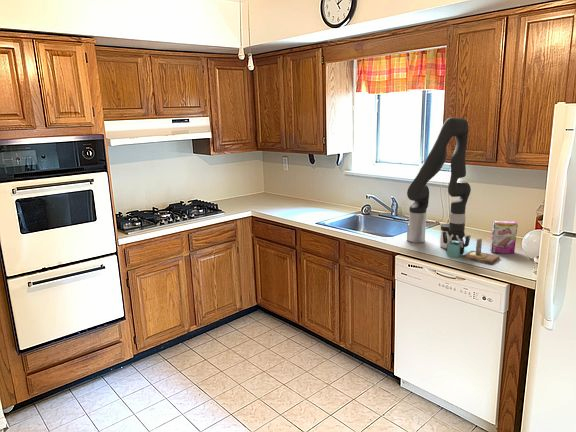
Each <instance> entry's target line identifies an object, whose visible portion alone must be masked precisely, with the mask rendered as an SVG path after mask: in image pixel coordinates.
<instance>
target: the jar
mask: <svg viewBox="0 0 576 432" xmlns="http://www.w3.org/2000/svg"><path fill="white" fill-rule="evenodd" d="M444 231H447V232H448V231H449V223H441V224H440V232H439V248H443V249H447V244H446V243H444V242H443V232H444ZM449 238H450V236H449V235H447V240H449ZM453 241H454V242H457V241H455V240H453Z"/></svg>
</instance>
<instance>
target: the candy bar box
mask: <svg viewBox="0 0 576 432" xmlns="http://www.w3.org/2000/svg"><path fill="white" fill-rule="evenodd" d="M518 224H519V223H517V222H516V221H510V220H509V221H505V220H492V225H491V226H492V228H491V236H490V243H489V244H490V245H489V247H490V248H489V251H490V253H493V254H508V255H509V254H510V255H514V254H515V250H516V242H517V241H516V240H517V234H518V233H517V231H518V226H519V225H518Z"/></svg>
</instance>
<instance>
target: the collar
mask: <svg viewBox="0 0 576 432" xmlns="http://www.w3.org/2000/svg"><path fill="white" fill-rule="evenodd" d="M460 247H461V246H460V244H459V242H458V241H456V242H454V241H452V242H450V243H448V244H447V248H446V256H450V257H455V258H460V257H461V256H463V255H464V253H463V254H460Z"/></svg>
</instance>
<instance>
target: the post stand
mask: <svg viewBox="0 0 576 432" xmlns="http://www.w3.org/2000/svg"><path fill="white" fill-rule="evenodd" d="M475 245H476V246H475V250H470V251H469V252H466V253H465V254H463V255H462V259H463V260H468V261H472V262H477V263H481V264H487V265H493V264H495V263H496V262H497V261H498V260H500V258H501V257H500V255H496V254H490V253H486V252H482V245H483V239H482V238H476V243H475Z"/></svg>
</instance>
